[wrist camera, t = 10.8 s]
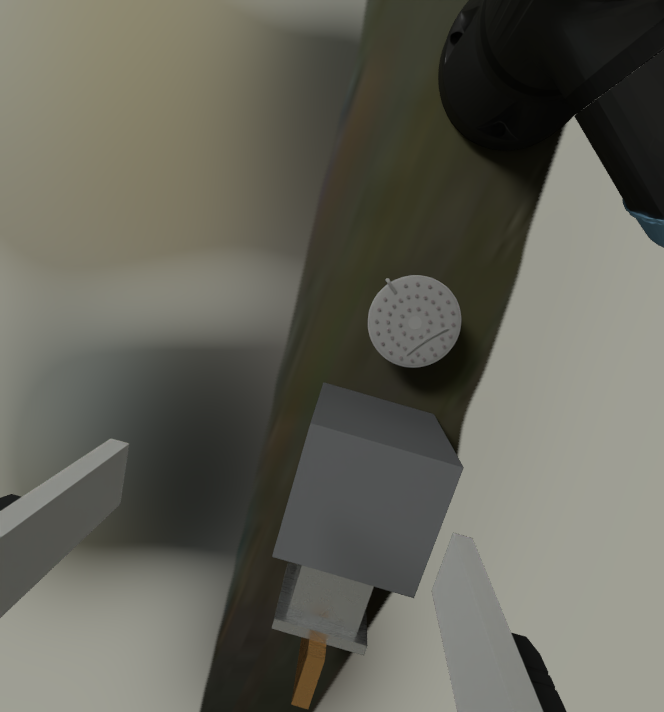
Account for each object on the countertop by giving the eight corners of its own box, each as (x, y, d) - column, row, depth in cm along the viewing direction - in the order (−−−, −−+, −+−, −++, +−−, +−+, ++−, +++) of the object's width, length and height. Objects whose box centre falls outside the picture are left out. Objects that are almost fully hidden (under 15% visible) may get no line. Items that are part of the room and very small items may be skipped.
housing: (323, 382, 49) (310, 423, 35) (433, 414, 49) (463, 467, 35) (294, 482, 52) (272, 556, 38) (398, 513, 52) (413, 598, 38)
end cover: (312, 480, 48) (300, 534, 38) (393, 504, 48) (403, 564, 38) (273, 612, 52) (253, 693, 42) (348, 634, 51) (346, 720, 41)
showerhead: (428, 250, 39) (482, 336, 40) (417, 254, 46) (463, 327, 47) (346, 305, 40) (400, 387, 41) (348, 301, 47) (394, 371, 48)
